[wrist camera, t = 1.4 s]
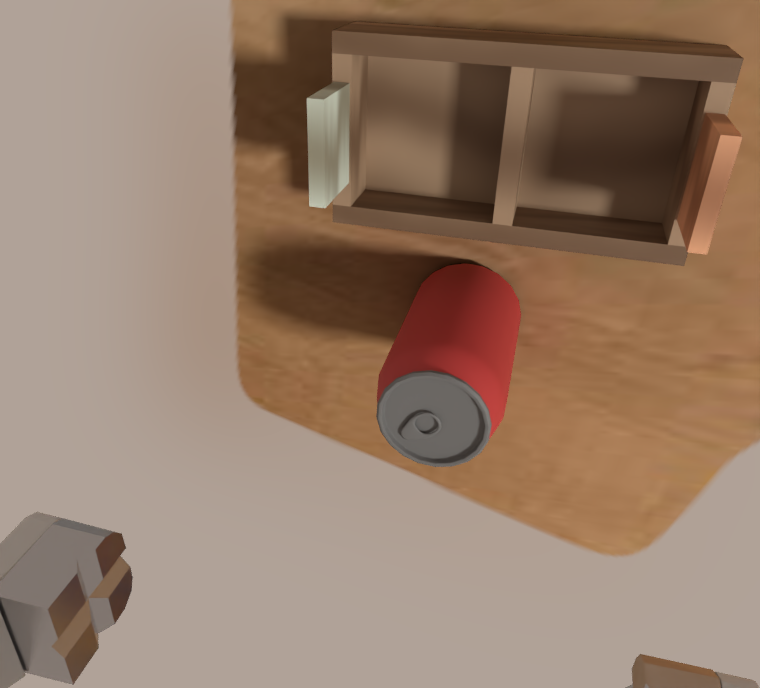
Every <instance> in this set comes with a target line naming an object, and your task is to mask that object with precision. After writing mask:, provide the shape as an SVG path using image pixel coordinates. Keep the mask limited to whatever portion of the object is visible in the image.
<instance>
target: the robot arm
mask: <svg viewBox="0 0 760 688" xmlns="http://www.w3.org/2000/svg"><path fill="white" fill-rule="evenodd" d="M125 549H126V546H125V543H124V540H123V536H122V534H121V533H117V532H113V531H109V530H106V529H102V528H98V527H94V526H90V525H86V524H82V523H79V522H75V521H71V520H67V519H64V518H59V517H56V516H51V515H47V514H43V513H39V512H36V513H34V514H32V515H30V516H28V517H26V518H25V519H24V520H23V521H22V522H21V523H20V524H19V525H18V526H17V527H16V528H15V529H14V530H13V531H12V532H11V533H10V534H9V535H8V536H7V537H6V538H5V539H4V540H3V541H2V542H1V543H0V688H8V687H10V686H11V685H13V684H14V683H16V682H17V681H19V680H20V679H21V678H23V677H24V676H25V673H29V674H34V675H37V676H41V677H45V678H50V679H53V680H57V681H61V682H65V683H69V684H74V683H75V681H76V680H77V678H78V677H79V676H80V674H81V673H82V671H83V670H84V668H85V667H86V665H87V664H88V662H89V661H90V659H91V658H92V657H93V655H94V654H95V652H96V651H97V649H98V647H99V644H98V633H100V632H102V631H103V630H105V629H107V628H109V627H110V626H112V625H114V624H115V623H116V621H117V620H118V618H119V617H120V615H121V614H122V612H123V611H124V609H125V607H126V604H127V601H128V599H129V596H130V593H131V590H132V572H131V568H130V566H129V565H128V564H127V563H126V561H125V560H124V559H123V558H122V557H121V556H120V555H121V554H122V553H123V551H124V550H125ZM24 672H25V673H24ZM632 681H633V684H632V685H630V686H628V687H626V688H760V687H759V686H758V685H757V683H756V682H755V681H753V680H750V679H746V678H741V677H737V676H732V675H728V674H723V673H719V672H714V671H713V670H711V669H706V668H701V667H697V666H692V665H688V664H683V663H679V662H674V661H670V660H665V659H660V658H656V657H651V656H646V655H642V654H640V655H639V656H638V657H637V658H636V660H635V662H634V665H633V667H632Z"/></svg>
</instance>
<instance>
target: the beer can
mask: <svg viewBox="0 0 760 688" xmlns="http://www.w3.org/2000/svg"><path fill="white" fill-rule="evenodd" d="M520 318H521V312H520V306H519V300H518V298H517V296H516V294H515V293H514V291H513V289H512V287H511V285H509V284H508V283H507V282H506V281H505V280H504V279H503V278H502V277H501V276H500V275H499V274H497V273H495V272H493V271H491V270H489V269H487V268H485V267H483V266H478V265H472V264H466V263H464V264H456V265H448V266H446V267H444V268H442V269H439V270H437V271H435V272H433V273H432V274H431V275H430V276H429V277H428V278H427V279H426V280H425V281H424V282H423V283H422V284H421V286H420V288H419V290H418V292H417V294H416V296H415V298H414V300H413V303H412V305H411V307H410V309H409V311H408V313H407V316H406V318H405V320H404V322H403V324H402V326H401V328H400V331H399V333H398V335H397V337H396V339H395V341H394V344H393V346H392V348H391V350H390V352H389V354H388V356H387V359H386V361H385V363H384V365H383V367H382V369H381V372H380V374H379V380H378V392H377V402H378V404H377V416H376V417H377V420H378V424H379V427H380V431H381V432H382V434H383V435H384V437H385V438H386V440H387V441H388V443H389V444H390V445H391V446H392V447H393V448H394V449H396V450H397V451H398V452H399V453H400V454H402V455H403V456H405V457H407V458H409V459H411V460H413V461H415V462H417V463H421V464H425V465H430V466H434V467H446V466H455V465H458V464H462V463H465V462H468V461H469V460H471V459H472V458H474V457H475V456H477V455H478V454H480V453H481V451H482V450H483V448H484V447H485V445H486V444H487V442H488V441H489V439H490V437H491V436H492V434H493V433H494V432H495V430H496V429H497V427H498V426H499V424H500V422H501V421H502V419H503V417H504V412H505V407H506V402H507V397H508V391H509V385H510V379H511V373H512V367H513V361H514V355H515V349H516V342H517V336H518V330H519V324H520Z"/></svg>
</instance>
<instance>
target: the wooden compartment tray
mask: <svg viewBox="0 0 760 688" xmlns="http://www.w3.org/2000/svg"><path fill="white" fill-rule="evenodd" d="M743 59H744V58H742V57H741V56H740V55H738V54H737V53H736V52H735V51H733V50H732V49H731V48H730V47H728V46H727V45H711V44H696V43H680V42H665V41H650V40H634V39H619V38H603V37H588V36H572V35H557V34H541V33H526V32H511V31H495V30H480V29H464V28H449V27H433V26H418V25H403V24H387V23H372V22H356V21H355V22H353V23H350V24H347V25H345V26H342V27H340V28H337V29H335V30H332V83H331V84H330V85H328V86H326V87H324V88H323V89H321V90H319V91H318V92H316V93H314V94H313V95H311V96H309V97H308V98H307V130H308V172H309V206H311V207H320V208H326V207H327V206H328V205H329V204H330V203H331V201H332V200H333V222H336V223H344V224H352V225H360V226H368V227H376V228H384V229H392V230H400V231H408V232H416V233H424V234H432V235H440V236H448V237H456V238H464V239H472V240H480V241H488V242H496V243H504V244H512V245H520V246H528V247H536V248H544V249H552V250H560V251H568V252H576V253H584V254H592V255H600V256H608V257H616V258H624V259H632V260H640V261H648V262H656V263H664V264H672V265H680V266H684V265H685V261H686V258H687V254H688V252H691V253H699V254H707V252H708V249H709V246H710V243H711V239H712V236H713V233H714V229H715V226H716V223H717V219H718V216H719V213H720V209H721V206H722V203H723V200H724V196H725V193H726V190H727V186H728V183H729V180H730V176H731V173H732V170H733V167H734V163H735V160H736V157H737V153H738V150H739V147H740V143H741V140H742V136H741V134H740V133H739V132H738V130H737V129H736V128H735V126H734V125H733V124H732V123H731V121H730V120H729V119H728V117H727V115H728V111H729V108H730V104H731V101H732V97H733V94H734V90H735V87H736V83H737V80H738V76H739V73H740V69H741V66H742V62H743Z"/></svg>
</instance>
